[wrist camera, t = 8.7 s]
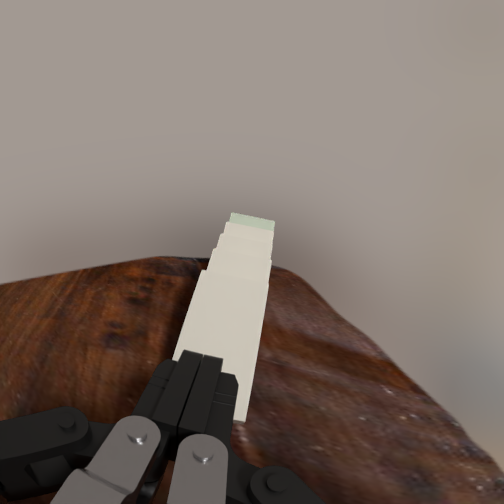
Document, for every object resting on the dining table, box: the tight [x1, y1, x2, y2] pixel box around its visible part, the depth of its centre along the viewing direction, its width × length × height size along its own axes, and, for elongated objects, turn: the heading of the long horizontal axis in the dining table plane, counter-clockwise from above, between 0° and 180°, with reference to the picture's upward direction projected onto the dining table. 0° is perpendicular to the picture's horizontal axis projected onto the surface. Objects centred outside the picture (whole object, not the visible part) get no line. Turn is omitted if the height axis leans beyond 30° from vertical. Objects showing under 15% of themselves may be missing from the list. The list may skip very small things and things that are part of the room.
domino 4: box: [172, 270, 269, 424], centre depth 18 cm, size 5×2×10 cm
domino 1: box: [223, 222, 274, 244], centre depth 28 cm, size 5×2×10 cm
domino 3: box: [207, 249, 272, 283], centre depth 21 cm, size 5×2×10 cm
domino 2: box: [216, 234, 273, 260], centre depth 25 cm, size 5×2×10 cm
